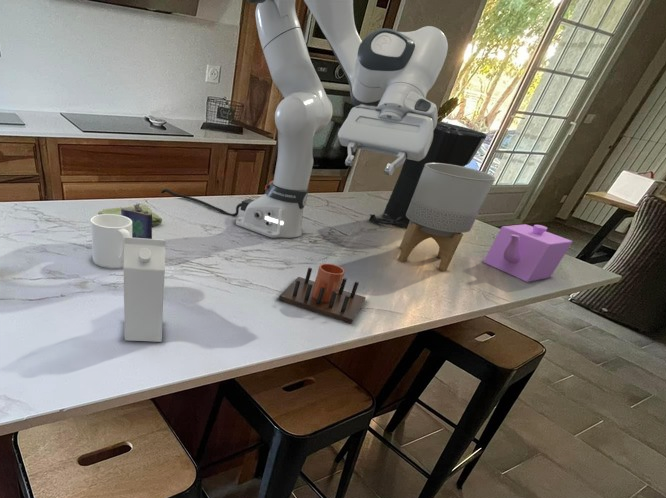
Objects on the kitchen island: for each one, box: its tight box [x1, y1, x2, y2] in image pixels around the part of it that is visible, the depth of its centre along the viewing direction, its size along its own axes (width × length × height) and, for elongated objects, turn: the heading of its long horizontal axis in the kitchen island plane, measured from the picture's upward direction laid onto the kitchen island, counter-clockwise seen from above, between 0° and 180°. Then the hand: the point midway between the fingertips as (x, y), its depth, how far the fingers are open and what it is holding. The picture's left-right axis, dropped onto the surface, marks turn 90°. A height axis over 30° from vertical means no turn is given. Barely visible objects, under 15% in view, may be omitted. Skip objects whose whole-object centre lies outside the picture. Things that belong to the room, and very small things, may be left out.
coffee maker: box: [368, 121, 487, 229], centre depth 158 cm, size 23×32×34 cm
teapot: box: [483, 223, 574, 283], centre depth 135 cm, size 15×25×14 cm, turn 117°
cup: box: [312, 263, 346, 302], centre depth 104 cm, size 6×6×7 cm
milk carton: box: [122, 237, 167, 343], centre depth 81 cm, size 7×7×19 cm
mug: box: [89, 214, 132, 270], centre depth 108 cm, size 13×10×10 cm
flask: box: [121, 203, 153, 239], centre depth 120 cm, size 9×3×11 cm, turn 71°
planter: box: [397, 163, 496, 272], centre depth 130 cm, size 19×19×26 cm
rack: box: [278, 267, 366, 325], centre depth 105 cm, size 18×14×5 cm
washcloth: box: [97, 204, 163, 227], centre depth 135 cm, size 13×18×3 cm
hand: (367, 169), depth 97 cm, fingers open, 8 cm apart
